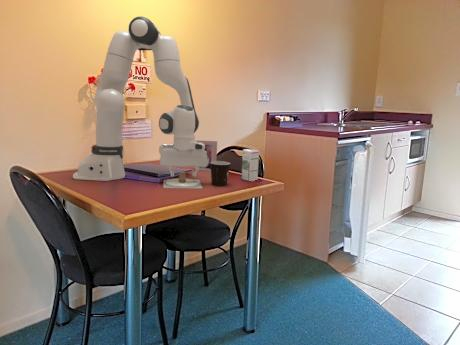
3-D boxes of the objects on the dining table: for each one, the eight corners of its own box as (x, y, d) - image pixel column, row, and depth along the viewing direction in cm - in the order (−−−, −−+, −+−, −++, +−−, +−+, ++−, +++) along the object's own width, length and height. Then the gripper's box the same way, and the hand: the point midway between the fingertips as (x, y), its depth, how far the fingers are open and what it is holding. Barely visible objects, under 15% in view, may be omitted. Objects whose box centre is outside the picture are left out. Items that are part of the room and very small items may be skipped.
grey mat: (163, 189, 162) (163, 187, 161) (163, 180, 177) (163, 179, 177) (202, 189, 164) (202, 188, 164) (199, 181, 180) (199, 179, 180)
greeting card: (193, 169, 206) (194, 140, 203) (201, 167, 213) (202, 139, 210) (211, 172, 201) (213, 142, 198) (219, 170, 207) (220, 141, 204)
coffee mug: (217, 182, 179) (218, 160, 177) (232, 185, 174) (234, 163, 172) (200, 186, 170) (201, 163, 168) (216, 190, 165) (217, 166, 163)
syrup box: (257, 180, 187) (259, 150, 184) (248, 181, 184) (250, 150, 181) (249, 178, 192) (251, 148, 189) (240, 179, 188) (242, 149, 185)
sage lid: (165, 187, 163) (166, 175, 162) (165, 179, 176) (165, 169, 175) (199, 187, 165) (200, 176, 164) (197, 180, 178) (197, 169, 178)
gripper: (159, 144, 163) (158, 177, 166) (208, 145, 166) (207, 178, 169) (159, 142, 169) (158, 174, 172) (206, 143, 173) (205, 174, 175)
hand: (183, 176), depth 170 cm, fingers open, 8 cm apart
